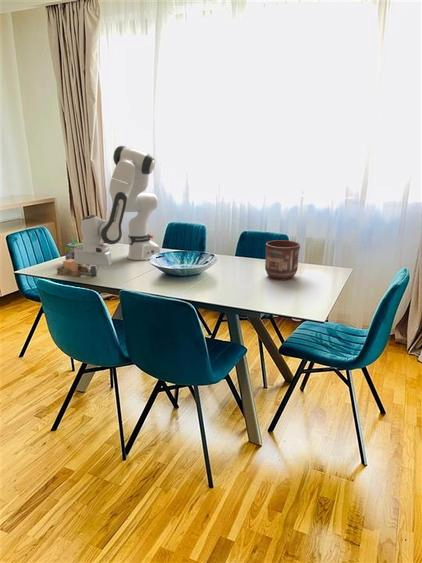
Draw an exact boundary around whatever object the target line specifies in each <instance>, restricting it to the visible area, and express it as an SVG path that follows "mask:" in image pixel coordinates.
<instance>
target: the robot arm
mask: <svg viewBox="0 0 422 563" xmlns="http://www.w3.org/2000/svg"><path fill="white" fill-rule="evenodd" d="M112 157H113V162H114V165H115V167H114V169H113V170H114V171H112V172H113V173H112V175H111V177H110V178H111V179H110V183H109V187H108V188H109V189H108V190H109V194H110V198H111V201H112V203H111V211H110V213H109V218H108V220H106V219H104V218H100V217H99V216H97V215H96V214H93V215H92V214H91V215H87V216H86V215H85V216H84V217H82V219H81V221H80V233H81V237H82V240H81V241H82V242H81V243H82V245H83V246H76V247H75V248H74V262H75V263H76V264H82V265H85V266H86V267H87V269H88V272H89V274H91V268H90V267H91V266H96V270H95V273H97V274H99V273H100V269H101V267H110V266H111V265H112V264H113V260H112V258H113V257H112V254H111V251H109V250H110V246H108V245H116V244H118V243H119V242H120V241H121V239H122V236H123V231H122V222H123V219H124V215H125V213H137V214H136V215H135V216H134V217H133V218H131V219H129V220H128V224H127V225H128V236H127V237H128V240H127V241H128V253H127V254H128V255H127V259H130V260H133V261H134V260H135V261H149V260H148V259H149V258H150V257H151V256H152V255H154V254H156V253H160V252H161V248H160V246H159V245H158V244H157V243H156V242H154V241H153V240H151V239H153V238H154V235H153V234H148V222H149V218H150V217H151V214H152V213H153V212H154V211H155V210H157V208H158V205H159V198H158V197H157V195H156V193H152V192H145V191H146V190H147V189H148V187H149V178H150V174H152V173H153V171H154V170H155V166H156V160H155V158H154V156H153V155H152V154H150V153H146V152H144V151H141V150H139V149H135V148H132V147H127V146H124V145H119V146H117V147H116V148H115V150H114V152H113V156H112ZM101 240H102V241H103V242H104V243H106V244H107V245H106V244H104V243H102V242H101Z"/></svg>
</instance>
